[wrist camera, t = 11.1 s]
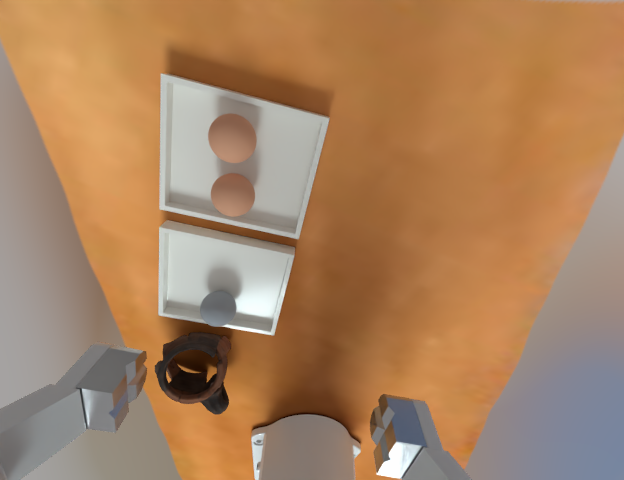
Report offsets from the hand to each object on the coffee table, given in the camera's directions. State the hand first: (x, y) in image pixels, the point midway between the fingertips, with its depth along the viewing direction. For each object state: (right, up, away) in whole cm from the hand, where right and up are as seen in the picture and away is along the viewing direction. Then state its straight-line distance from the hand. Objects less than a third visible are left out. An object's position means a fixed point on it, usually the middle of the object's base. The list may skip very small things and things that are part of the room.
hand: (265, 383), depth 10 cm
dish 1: (-5, +13, +19) cm, 23 cm away
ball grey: (-9, -2, +26) cm, 27 cm away
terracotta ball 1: (-5, +14, +17) cm, 23 cm away
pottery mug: (-13, -11, +31) cm, 36 cm away
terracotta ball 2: (-6, +10, +19) cm, 22 cm away
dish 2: (-9, +1, +25) cm, 26 cm away
